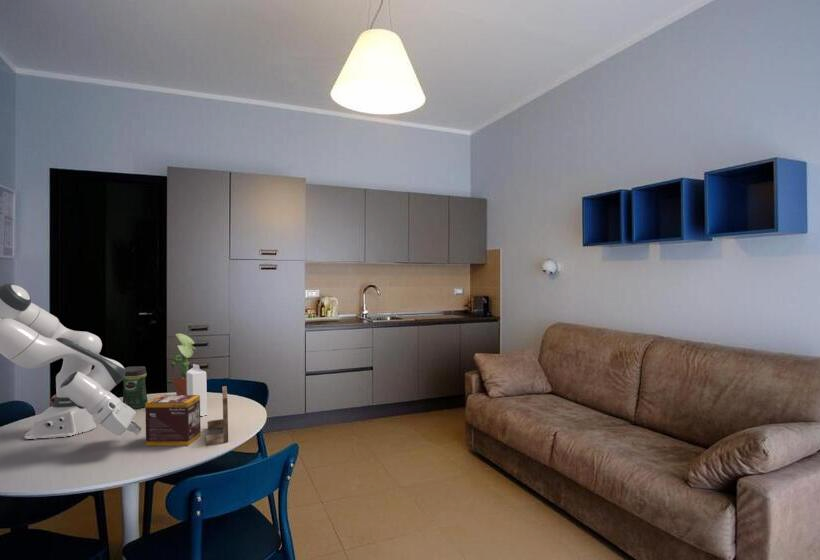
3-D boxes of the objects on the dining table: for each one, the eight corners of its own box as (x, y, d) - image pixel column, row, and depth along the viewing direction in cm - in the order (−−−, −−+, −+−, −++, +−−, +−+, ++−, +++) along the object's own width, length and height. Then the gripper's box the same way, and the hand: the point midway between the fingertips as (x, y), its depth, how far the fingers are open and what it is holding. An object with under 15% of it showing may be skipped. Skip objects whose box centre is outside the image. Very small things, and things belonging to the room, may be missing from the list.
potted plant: (163, 407, 216) (161, 330, 215) (189, 398, 231) (187, 326, 230) (190, 410, 211) (188, 332, 210) (215, 401, 225) (213, 327, 224)
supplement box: (188, 446, 169) (187, 402, 169) (145, 446, 169) (144, 402, 169) (201, 435, 180) (200, 394, 179) (161, 435, 180) (160, 394, 179)
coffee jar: (150, 404, 222) (149, 364, 222) (142, 409, 214) (141, 368, 214) (128, 404, 221) (127, 365, 221) (119, 410, 214) (118, 368, 213)
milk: (193, 419, 200) (191, 366, 199) (187, 416, 204) (185, 364, 203) (207, 415, 204) (206, 364, 203) (201, 412, 208) (200, 362, 207)
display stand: (206, 445, 170) (205, 400, 169) (207, 428, 187) (206, 388, 187) (228, 442, 172) (227, 398, 172) (227, 426, 190) (226, 386, 190)
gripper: (106, 406, 175) (137, 429, 179) (92, 423, 156) (127, 448, 160) (120, 393, 177) (150, 416, 181) (108, 408, 158) (142, 433, 162)
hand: (139, 431), depth 170 cm, fingers closed
